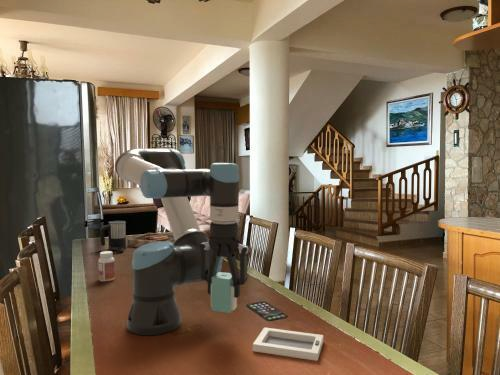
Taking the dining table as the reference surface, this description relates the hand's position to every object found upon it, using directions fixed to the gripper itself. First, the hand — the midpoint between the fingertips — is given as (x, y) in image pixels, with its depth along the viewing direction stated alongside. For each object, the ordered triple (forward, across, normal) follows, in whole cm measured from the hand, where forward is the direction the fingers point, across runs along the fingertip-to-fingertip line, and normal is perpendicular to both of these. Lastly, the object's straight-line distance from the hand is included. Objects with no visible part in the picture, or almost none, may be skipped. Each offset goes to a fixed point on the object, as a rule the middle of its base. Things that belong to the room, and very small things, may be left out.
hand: (223, 307), depth 106 cm
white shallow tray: (+8, +18, 0) cm, 20 cm away
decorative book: (+12, -81, +101) cm, 130 cm away
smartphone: (+9, +6, +21) cm, 24 cm away
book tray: (+11, -82, +101) cm, 131 cm away
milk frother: (+11, -93, +81) cm, 124 cm away
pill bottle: (+10, -64, +34) cm, 73 cm away
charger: (0, 0, 0) cm, 0 cm away
